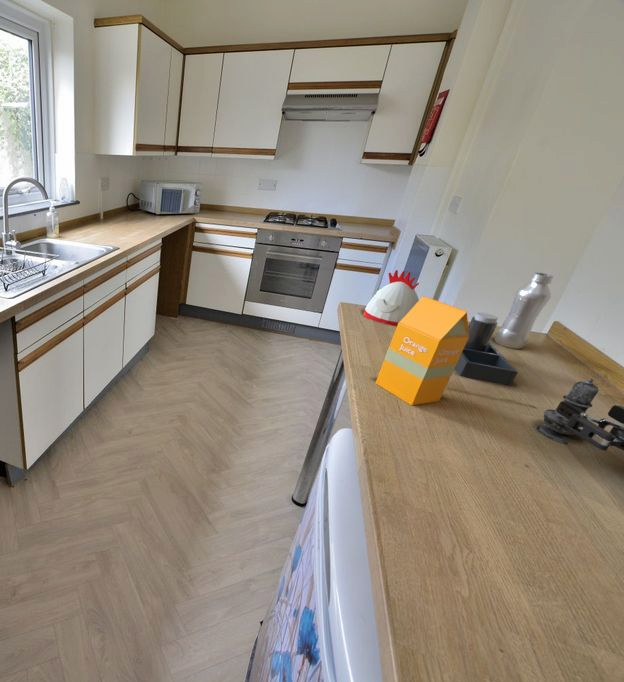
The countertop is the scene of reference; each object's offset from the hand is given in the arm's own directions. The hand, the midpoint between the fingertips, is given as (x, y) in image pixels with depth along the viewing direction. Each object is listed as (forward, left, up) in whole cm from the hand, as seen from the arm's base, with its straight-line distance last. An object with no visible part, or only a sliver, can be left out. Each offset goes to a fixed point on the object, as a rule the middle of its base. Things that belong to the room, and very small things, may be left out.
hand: (586, 407), depth 70 cm
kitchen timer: (+21, -54, -7) cm, 58 cm away
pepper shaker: (+7, -32, -7) cm, 33 cm away
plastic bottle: (-6, -48, -7) cm, 49 cm away
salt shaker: (+1, -2, -7) cm, 8 cm away
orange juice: (+24, -6, -7) cm, 25 cm away
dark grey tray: (+7, -28, -7) cm, 29 cm away
